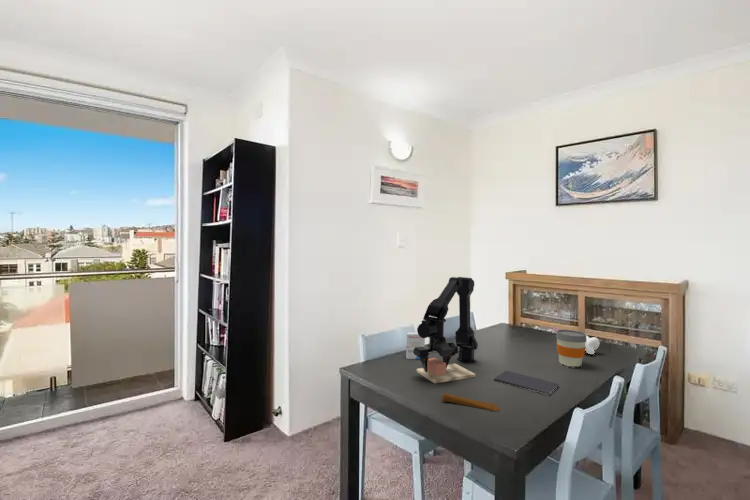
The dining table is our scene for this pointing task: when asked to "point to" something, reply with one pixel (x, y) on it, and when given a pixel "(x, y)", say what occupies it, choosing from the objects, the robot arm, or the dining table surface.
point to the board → (448, 374)
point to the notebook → (526, 382)
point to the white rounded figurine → (591, 344)
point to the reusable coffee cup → (570, 347)
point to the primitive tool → (469, 402)
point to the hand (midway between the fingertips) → (435, 370)
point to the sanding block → (436, 367)
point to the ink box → (413, 344)
